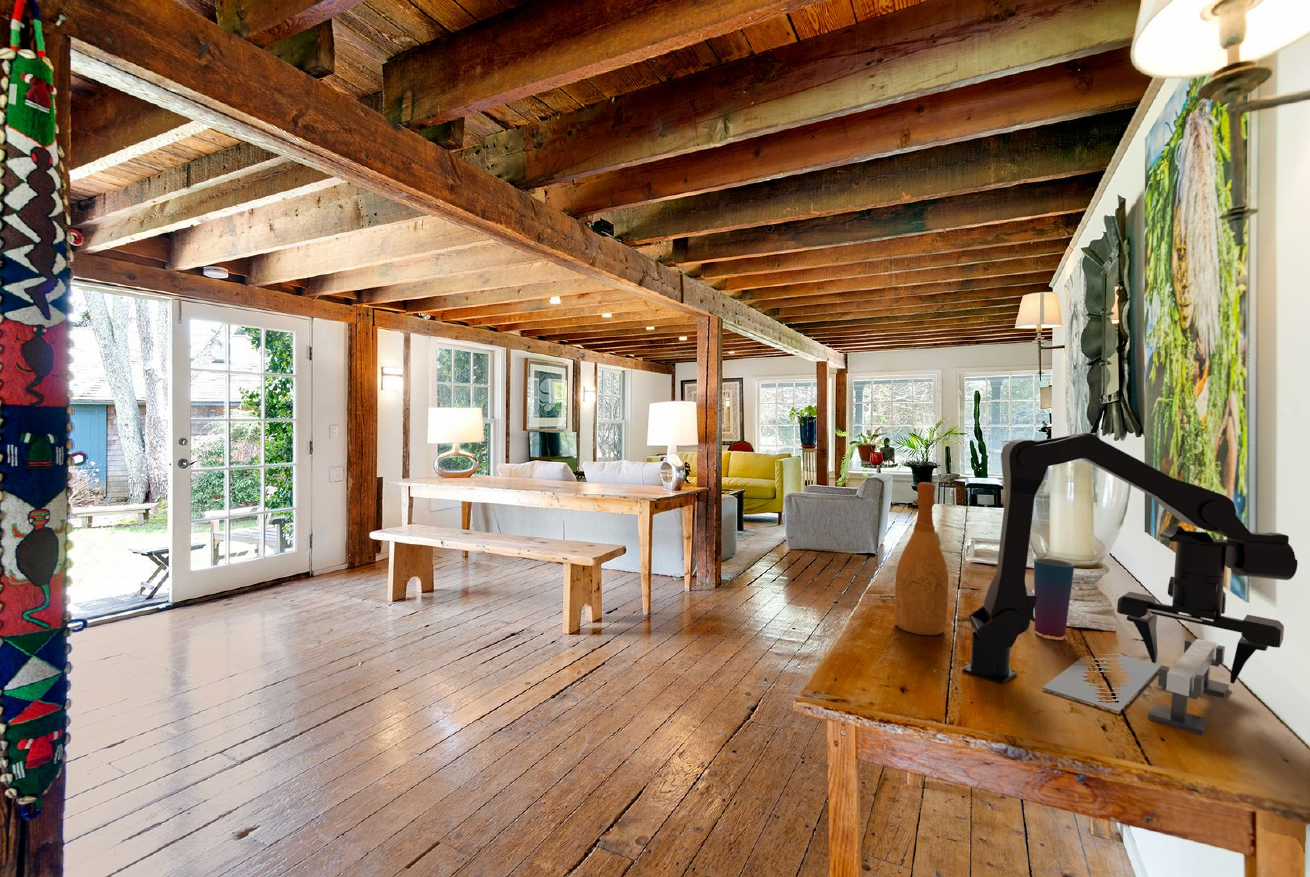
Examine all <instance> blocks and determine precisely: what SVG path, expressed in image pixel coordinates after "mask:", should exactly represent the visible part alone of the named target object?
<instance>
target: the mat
mask: <svg viewBox="0 0 1310 877" xmlns="http://www.w3.org/2000/svg"><path fill="white" fill-rule="evenodd" d="M1113 653H1114V652H1112V655H1120V658H1117V657H1116V658H1117V659H1116V660H1124V661H1120V663H1118V664H1124V666H1123V665H1122V666H1120V668H1127V669H1124V670H1123V671H1122V670H1121V671H1120V672H1128V674H1126V673H1125V674H1124V676H1132V677H1128V679H1126V678H1125V679H1123V680H1132V681H1128V682H1125V683H1123V684H1120V685H1128V686H1122V687H1121V686H1120V688H1112V689H1120V691H1119V690H1117V691H1116V692H1115V691H1114V692H1107V693H1120V695H1119V694H1118V695H1116V696H1111V697H1119V698H1116V699H1112V700H1104V699H1103V700H1102V699H1101V700H1100V699H1098V698H1096V697H1106V696H1100V695H1097V694H1094V693H1106V692H1102V691H1101V692H1100V691H1097V690H1096V689H1104V688H1098V687H1096V686H1089V685H1098V684H1093V683H1089V682H1086V681H1083V680H1087V679H1088V678H1085V677H1083V676H1088V675H1087V674H1088V673H1087V674H1086V673H1084V672H1090V671H1088V669H1086V668H1093V667H1088V666H1083V665H1079V664H1086V663H1084V662H1080V661H1078V660H1086V659H1085V658H1084V659H1082V657H1080V658H1079V659H1078V660H1077V661H1074V663H1073V664H1074V665H1073V664H1071V665H1070V666H1069V667H1068V668H1066V669H1064V670H1063V671H1062V672H1061V673H1059V674H1058V675H1057V676H1055V678H1054V677H1053V679H1052V680H1050V681H1049V682H1048V683H1046V684H1045V685H1043V687H1042V690H1043V689H1044V690H1046V691H1050V692H1052V693H1057V694H1059V695H1062V696H1065V697H1070V698H1072V699H1074V700H1078V701H1083V702H1087V703H1091V704H1094V705H1100V706H1102V707H1104V708H1107V709H1112V710H1115V711H1117V712H1120V711H1121V710H1122V709H1123V708H1124V707H1125V705H1127V703H1128V702H1129V701H1130V700H1131V699H1132V698H1133V697H1134V696H1135V695H1136V694H1137V693H1138V694H1139V693H1141V691H1142V690H1143V689H1144V688H1145V687H1146V686H1147V685H1148V683H1149V682H1151V680H1152V679H1153V678H1154V677H1155V676H1156V675H1157V674H1158V673H1159V668H1160V667H1161V666H1162V665H1161V664H1158V663H1152V662H1149V661H1146V660H1143V659H1139V658H1134V657H1131V656H1126V655H1124V654H1119V653H1115V654H1113ZM1100 655H1102V654H1100ZM1103 655H1106V654H1103ZM1107 655H1110V654H1107ZM1121 655H1122V656H1121ZM1111 659H1112V658H1110V659H1107V658H1104V657H1103V658H1099V659H1098V658H1095V659H1093V658H1092V659H1091V660H1111ZM1087 660H1090V659H1088V658H1087ZM1112 660H1115V659H1112ZM1075 664H1078V666H1077V665H1075ZM1087 664H1089V663H1087ZM1091 664H1094V663H1091ZM1095 664H1109V663H1107V662H1106V661H1104V662H1103V663H1102V662H1099V663H1097V662H1095ZM1110 664H1111V663H1110ZM1112 664H1113V663H1112ZM1116 664H1117V663H1116ZM1094 668H1112V667H1107V666H1101V665H1100V667H1098V666H1095V667H1094ZM1091 672H1097V671H1096V670H1095V671H1091ZM1099 672H1111V671H1104V670H1101V671H1099ZM1112 672H1113V671H1112ZM1116 672H1117V671H1116ZM1104 676H1105V675H1104ZM1120 676H1121V675H1120ZM1122 676H1123V675H1122ZM1099 685H1100V684H1099ZM1144 686H1145V687H1144ZM1094 689H1095V690H1094ZM1141 689H1142V690H1141ZM1140 690H1141V691H1140ZM1046 691H1045V692H1046ZM1052 693H1051V694H1052ZM1059 695H1058V696H1059ZM1062 696H1061V697H1062ZM1065 697H1064V698H1065ZM1094 697H1095V698H1094ZM1107 697H1108V696H1107ZM1109 697H1110V696H1109ZM1074 700H1073V701H1074ZM1098 701H1120V702H1118V703H1117V702H1116V703H1105V702H1104V703H1103V702H1098ZM1111 705H1112V706H1111ZM1115 705H1116V706H1115Z"/></svg>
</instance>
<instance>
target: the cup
mask: <svg viewBox="0 0 1310 877" xmlns="http://www.w3.org/2000/svg"><path fill="white" fill-rule="evenodd" d="M1074 570H1075V564H1074V563H1073V562H1070V561H1067V560H1062V559H1057V558H1050V557H1049V558H1048V557H1043V558H1042V557H1039V558H1038V557H1037V558H1034V559H1033V571H1034V572H1033V580H1034V581H1033V586H1034V587H1033V588H1034V589H1033V590H1034V591H1033V593H1034V594H1035V595H1036V596H1037V601H1036V604H1035V607H1034V618H1035V622H1034V632H1035V631H1037V632H1039V633H1041V634H1043V635H1050V636H1055V637H1062V636H1064V635H1065V636H1066V630H1067V624H1068V622H1067V621H1068V617H1069V610H1070V609H1069V608H1070V607H1069V606H1070V601H1071V600H1070V599H1071V593H1072V585H1073V579H1074V578H1073V577H1074V572H1075V571H1074Z"/></svg>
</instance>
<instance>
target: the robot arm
mask: <svg viewBox="0 0 1310 877" xmlns="http://www.w3.org/2000/svg"><path fill="white" fill-rule="evenodd" d="M1000 459H1001V460H1000V461H1001V462H1000V463H1001V472H1002V473H1001V474H1002V478H1003V483H1004V489H1005V498H1004V506H1003V514H1002V522H1001V523H1002V524H1001V531H1000V532H1001V533H1000V540H999V547H998V557H997V565H996V572H995V575H994V577H993V578H992V581H991V582H990V584H989V586H988V589H987V592H986V595H985V599H984V601H983V605H982V606H981V607H979V608H978V609H976V610H975V611H974V612H972V613H971V614H970V615H968V618H969V622H970V625H971V627H972V629H973V630H974V632H972V634H971V646H970V647H971V649H970V650H971V651H970V652H971V653H970V663H968V664H966V665H965V666H962V669H961V670H962V672H965V673H967V674H970V675H974V676H978V677H979V678H983V679H986V680H989V681H992V682H994V683H999V684H1004V683H1006V682H1008V681H1009V680H1011V679H1012V678H1014V677H1016V675H1017V674H1018V673H1017V671H1016V670H1014V669H1011V668H1010V660H1011V657H1010V656H1011V648H1013V646H1014V644H1015V642H1016V641H1017V639H1018V637H1019V636H1020V635H1022V634H1023V633H1025V632H1027V631H1028V629H1029V627H1030V624H1031V622H1034V623H1035V604H1036V601H1037V596H1036V595H1035V594H1034V591H1032V590H1031V589H1030V588H1029V587H1027V586H1026V573H1027V565H1028V564H1027V563H1028V556H1029V548H1030V539H1031V532H1032V524H1033V514H1034V506H1035V499H1036V495H1037V493H1038V491H1039V490H1040V487H1041V485H1042V483H1043V481H1044V479H1045V477H1046V474H1047V471H1048V469H1049V468H1048V467H1052V466H1056V465H1060V464H1065V463H1068V462H1069V463H1070V462H1072V461H1077V460H1081V459H1082V460H1084V461H1085V462H1087V463H1089V464H1091V465H1093V466H1095V467H1096V468H1098V469H1101V470H1102V471H1104V472H1106V473H1107V474H1109V475H1111V476H1113V477H1115V478H1116V479H1119V480H1120V481H1122V482H1124V483H1126V484H1128V485H1129V486H1132V487H1133V488H1135V489H1137V490H1139V491H1141V492H1143V493H1144V494H1147V495H1148V496H1149V497H1151V498H1152V499H1153V500H1154V501H1155V502H1157V504H1159V505H1160V506H1161V508H1163V509H1164V510H1166V511H1167V512H1168V513H1169V514H1171V515H1172V516H1173V517H1175V518H1176V519H1177V520H1178V521H1180V522H1182V523H1183V524H1187V525H1190V526H1192V527H1194V528H1199V529H1202V530H1205V531H1198V530H1197V531H1196V530H1195V531H1193V530H1185V529H1184V528H1183V526H1181V525H1177V524H1172V525H1171V526H1170V528H1168V529H1166V530H1164V531H1162V532H1161V533H1159V537H1160V538H1162V539H1164V540H1167V541H1169V542H1176V543H1175V544H1176V545H1175V558H1174V574H1173V576H1170V578H1169V583H1168V586H1167V595H1168V596H1169V598H1172V604H1171V605H1170V604H1165V603H1160V602H1156V601H1157V599H1156V596H1153V595H1148V594H1144V593H1138V592H1133V591H1129V592H1127V593H1125V594H1124V595H1121V596H1120V597H1119V598H1118V599H1117V603H1116V604H1117V606H1116V613H1118V614H1120V615H1123V616H1126V620H1127V621H1129V622H1132V623H1133V624H1134V626H1135V628H1136V629H1137V630H1138V633H1139V634H1140V637H1141V639H1142V640H1143V642H1144V645H1145V647H1146V650H1147V653H1148V655H1149V658H1150V660H1151V663H1154V664H1157V662H1158V652H1159V651H1158V638H1157V636H1158V635H1157V623H1158V622H1157V620H1158V616H1160V617H1166V618H1169V619H1175V620H1180V621H1183V622H1190V623H1194V624H1198V625H1203V626H1208V627H1212V628H1217V629H1222V630H1225V631H1227V630H1228V631H1231V632H1232V631H1233V632H1236V633H1240V634H1241V635H1240V636H1241V637H1240V638H1239V640H1238V642H1237V644H1236V649H1235V654H1234V658H1233V663H1232V666H1231V670H1230V674H1229V675H1230V676H1229V677H1230V679H1229V680H1230V684H1235V682H1236V681H1237V678H1238V677H1239V675H1240V673H1241V672H1242V670H1243V668H1244V666H1245V664H1246V662H1248V660H1249V659H1250V657H1252V655H1253V654H1254V653H1255V652H1256V651H1262V652H1263V651H1265V652H1266V651H1267V650H1268V648H1269V647H1270V648H1281V646H1282V643H1283V641H1284V633H1285V631H1284V630H1285V628H1284V627H1285V626H1284V624H1283V623H1281V621H1279V620H1278V619H1273V618H1268V617H1267V618H1266V617H1261V616H1257V615H1250V614H1246V616H1244V618H1243V619H1240V618H1234V617H1229V616H1225V615H1224V614H1225V613H1226V605H1227V604H1226V602H1227V597H1226V596H1227V593H1226V592H1225V591H1224V585H1225V572H1226V567H1227V568H1228V569H1230V570H1231V571H1232V573H1233V574H1234V575H1235V576H1239V577H1246V578H1247V577H1248V578H1257V579H1259V578H1260V579H1269V580H1282V581H1289V580H1291V579H1292V578H1294V576H1295V575H1296V572H1297V569H1298V562H1299V561H1298V560H1297V559H1296V554H1295V551H1294V549H1293V547H1292V545H1291V544H1290V542H1289V540H1290V539H1289V538H1290V537H1289V535H1287V534H1284V533H1281V532H1251V531H1250V530H1249V529H1248V528H1247V527H1246V526H1245V524H1244V523H1243V522H1242V520H1241V519H1240V518H1239V517H1238V516H1237V510H1236V506H1235V505H1236V504H1235V503H1234V501H1233V499H1231V498H1229V497H1228V496H1227V495H1225V494H1221V493H1220V492H1216V491H1214V490H1212V489H1211V490H1210V489H1209V488H1204V487H1202V486H1199V485H1196V484H1193V483H1189V482H1186V481H1184V480H1180V479H1178V478H1177V479H1176V478H1175V477H1172V476H1170V475H1168V474H1166V473H1164V472H1162V471H1160V469H1159V470H1158V469H1157V468H1155V467H1153V466H1151V465H1150V464H1147V463H1146V462H1144V461H1141V460H1139V459H1138V458H1136V457H1135V456H1132V455H1130V454H1129V453H1126V452H1124V451H1122V450H1121V449H1119V448H1117V447H1115V446H1113V445H1111V444H1110V443H1108V442H1106V441H1104V440H1103V439H1101V438H1100V437H1099V436H1098V435H1096V434H1094V433H1090V432H1076V433H1073V434H1070V435H1066V436H1060V437H1054V438H1048V439H1042V440H1032V439H1025V438H1024V439H1023V438H1017V439H1013V440H1010V441H1009V442H1008V443H1006V444H1005V445H1004V446H1003V447H1002V449H1001V452H1000ZM1206 531H1208V532H1211V533H1213V534H1217V535H1219V536H1222V537H1224V538H1225V537H1226V539H1223V538H1221V539H1220V538H1213V537H1212V536H1211V535H1210V534H1209V533H1208V532H1206ZM1180 613H1181V614H1180Z"/></svg>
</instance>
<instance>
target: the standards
mask: <svg viewBox="0 0 1310 877" xmlns="http://www.w3.org/2000/svg"><path fill="white" fill-rule="evenodd" d="M1193 643H1194V639H1192V638H1188V637H1187V638H1186V639H1184V646H1183V649H1184V650H1183V654H1184V653H1185V652H1186V651H1187V650H1188V648H1189V647H1190V646H1191V645H1192V644H1193ZM1225 649H1226V647H1225V646H1224V645H1218V644H1217V648H1216V659H1215V660H1214V661H1213V663H1212V664H1211V666H1213V667H1217V668H1219V667H1220V666H1221V665H1223V664H1224V663H1225ZM1211 666H1210V667H1209V669H1208V670H1207V671H1206V673H1205V674H1204V676H1201V675H1196V676H1195V677H1194V688H1193V691H1192V693H1191V694H1190V696H1185V695H1182V694H1178V693H1175V692H1171V691H1168V690H1166V685H1167V673H1168V672H1169V670H1170V667H1169V666H1165V665H1162V666H1161V667H1160V668H1159V671H1158V680H1157V686H1158V687H1161V691H1163V692H1164V691H1165V692H1168V693H1171V705H1170V707H1169V706H1165V705H1162V704H1158V703H1155V704H1154V706H1153V707H1152V708H1151V710H1150V711H1149V712H1147V719H1148V720H1151V721H1154V722H1157V723H1160V724H1164V725H1167V726H1170V727H1172V728H1176V729H1180V730H1183V731H1186V732H1189V733H1191V734H1196V735H1198V736H1204V734H1205V732H1206V730H1207V728H1208V727H1209V725H1210V719H1209V718H1206V717H1202V716H1199V715H1195V714H1193V713H1192V714H1191V713H1189V712H1187V708H1188V699H1192V700H1198V699H1199V698H1201V697H1202V696H1203V695H1204V694H1209V695H1211V696H1212V695H1213V696H1216V697H1218V698H1223V699H1225V697H1226V695H1227V693H1228V691H1229V690H1230V689H1229V688H1230V684H1229V683H1224V682H1220V681H1217V680H1213V679H1210V674H1211V673H1210V672H1211V671H1210V669H1211Z"/></svg>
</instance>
